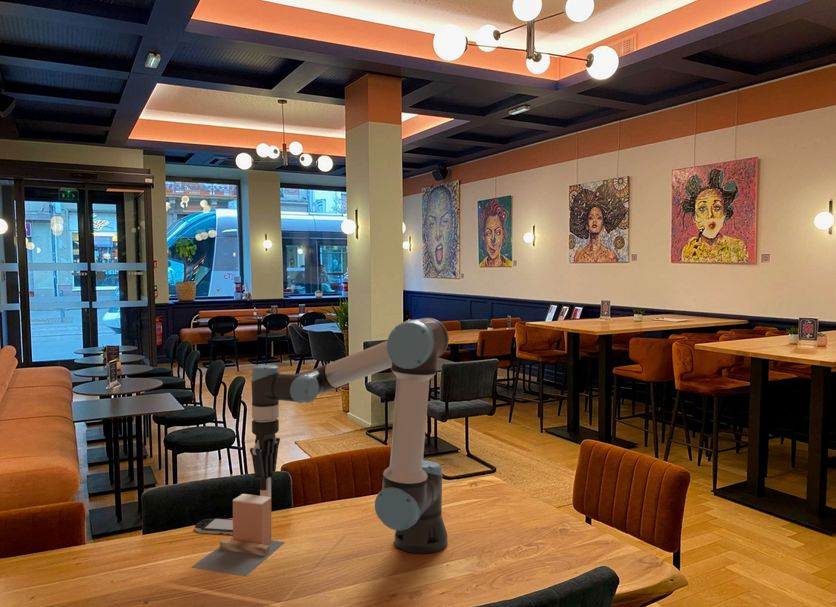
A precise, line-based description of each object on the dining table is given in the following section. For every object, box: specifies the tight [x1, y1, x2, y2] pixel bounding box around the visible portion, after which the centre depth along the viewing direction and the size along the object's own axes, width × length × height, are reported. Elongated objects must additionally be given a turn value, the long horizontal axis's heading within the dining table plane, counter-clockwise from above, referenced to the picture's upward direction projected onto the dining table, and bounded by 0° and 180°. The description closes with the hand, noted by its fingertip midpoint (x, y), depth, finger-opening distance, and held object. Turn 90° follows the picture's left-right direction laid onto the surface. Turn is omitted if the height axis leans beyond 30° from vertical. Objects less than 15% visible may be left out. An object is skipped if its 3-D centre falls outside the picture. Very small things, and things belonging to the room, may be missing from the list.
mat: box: [191, 536, 286, 577], centre depth 161 cm, size 16×20×1 cm
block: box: [232, 493, 272, 545], centre depth 166 cm, size 9×5×13 cm, turn 74°
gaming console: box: [194, 517, 233, 536], centre depth 178 cm, size 19×9×2 cm, turn 83°
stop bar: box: [219, 538, 269, 556], centre depth 163 cm, size 14×2×2 cm, turn 74°
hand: (265, 499), depth 173 cm, fingers closed
